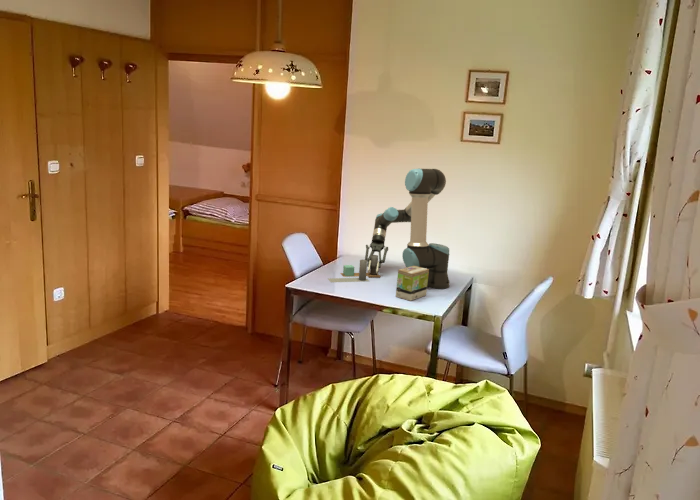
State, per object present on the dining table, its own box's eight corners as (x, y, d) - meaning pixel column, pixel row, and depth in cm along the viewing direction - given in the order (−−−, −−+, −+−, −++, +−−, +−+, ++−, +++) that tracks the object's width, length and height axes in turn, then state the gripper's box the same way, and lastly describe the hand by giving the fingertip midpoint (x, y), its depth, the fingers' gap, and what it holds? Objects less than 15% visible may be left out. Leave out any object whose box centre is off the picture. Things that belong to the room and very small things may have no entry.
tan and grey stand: (380, 277, 352) (381, 257, 349) (343, 278, 346) (344, 257, 343) (376, 274, 359) (377, 254, 356) (339, 274, 353) (341, 254, 350)
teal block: (353, 275, 348) (354, 267, 347) (345, 276, 347) (345, 267, 346) (351, 273, 353) (351, 265, 352) (343, 273, 352) (343, 265, 351)
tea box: (411, 301, 313) (413, 273, 310) (395, 296, 319) (397, 269, 316) (427, 295, 325) (429, 268, 321) (411, 291, 331) (413, 264, 327)
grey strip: (369, 283, 340) (370, 262, 337) (330, 284, 334) (331, 262, 331) (365, 279, 347) (366, 258, 344) (327, 280, 340) (328, 259, 338)
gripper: (393, 242, 364) (387, 276, 352) (364, 239, 367) (358, 273, 355) (393, 235, 358) (387, 270, 345) (364, 232, 360) (357, 266, 348)
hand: (372, 271), depth 350 cm, fingers closed on tan and grey stand, 4 cm apart
